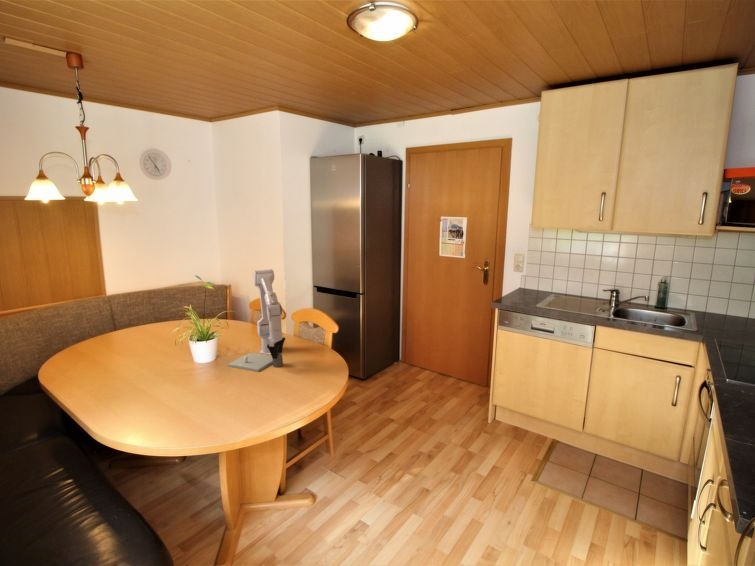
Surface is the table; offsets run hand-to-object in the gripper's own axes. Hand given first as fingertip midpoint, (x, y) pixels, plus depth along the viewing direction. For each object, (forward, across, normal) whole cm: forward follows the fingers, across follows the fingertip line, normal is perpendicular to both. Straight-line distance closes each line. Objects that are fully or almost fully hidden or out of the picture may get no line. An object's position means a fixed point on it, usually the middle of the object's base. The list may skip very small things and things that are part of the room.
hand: (277, 355), depth 203 cm
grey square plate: (+5, -2, -13) cm, 14 cm away
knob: (+5, 0, 0) cm, 5 cm away
